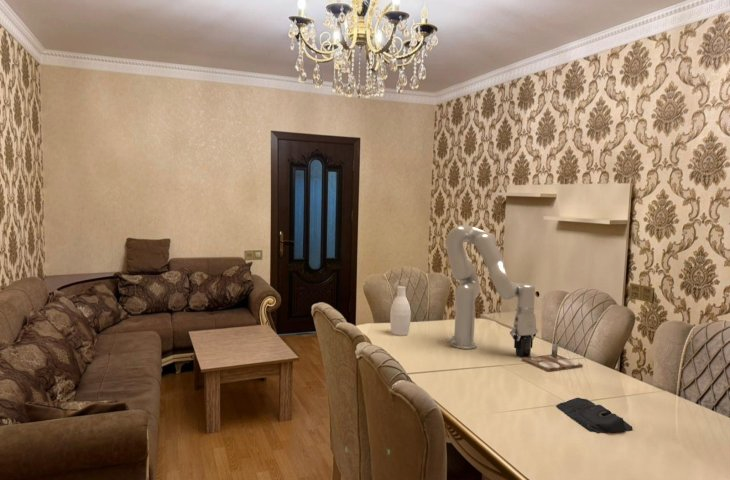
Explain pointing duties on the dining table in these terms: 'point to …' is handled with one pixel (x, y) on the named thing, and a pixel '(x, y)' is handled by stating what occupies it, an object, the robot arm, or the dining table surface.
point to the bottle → (400, 313)
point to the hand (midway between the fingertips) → (523, 347)
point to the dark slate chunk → (593, 416)
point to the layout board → (552, 361)
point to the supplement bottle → (524, 347)
